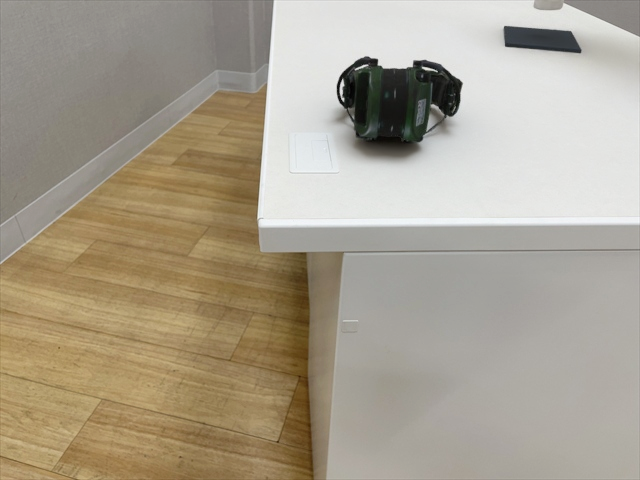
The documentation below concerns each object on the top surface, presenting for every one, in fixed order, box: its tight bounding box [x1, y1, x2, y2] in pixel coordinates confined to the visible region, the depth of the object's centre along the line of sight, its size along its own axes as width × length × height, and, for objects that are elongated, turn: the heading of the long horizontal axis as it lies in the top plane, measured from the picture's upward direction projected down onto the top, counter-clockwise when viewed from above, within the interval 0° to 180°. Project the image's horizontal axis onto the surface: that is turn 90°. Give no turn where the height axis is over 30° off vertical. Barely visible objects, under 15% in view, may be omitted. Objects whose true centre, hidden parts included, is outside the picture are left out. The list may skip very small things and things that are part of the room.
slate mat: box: [503, 25, 582, 54], centre depth 105 cm, size 14×16×1 cm
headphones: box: [336, 55, 464, 144], centre depth 64 cm, size 13×13×20 cm
